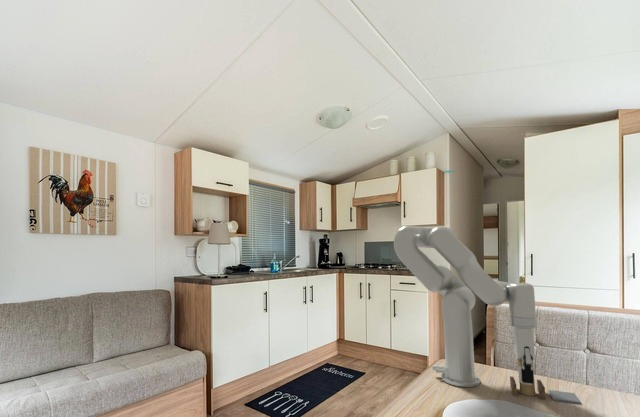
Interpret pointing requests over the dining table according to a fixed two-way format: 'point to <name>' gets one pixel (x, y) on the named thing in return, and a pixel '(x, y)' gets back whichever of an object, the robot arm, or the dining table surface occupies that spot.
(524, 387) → the sprinkles bottle
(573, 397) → the slate coaster
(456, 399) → the dining table surface
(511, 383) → the walnut rack
